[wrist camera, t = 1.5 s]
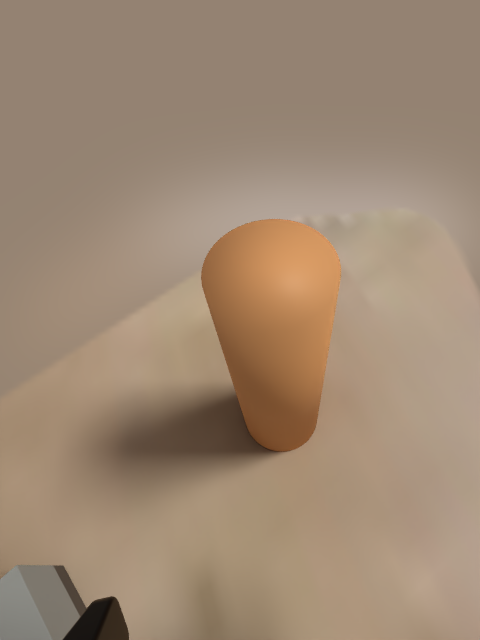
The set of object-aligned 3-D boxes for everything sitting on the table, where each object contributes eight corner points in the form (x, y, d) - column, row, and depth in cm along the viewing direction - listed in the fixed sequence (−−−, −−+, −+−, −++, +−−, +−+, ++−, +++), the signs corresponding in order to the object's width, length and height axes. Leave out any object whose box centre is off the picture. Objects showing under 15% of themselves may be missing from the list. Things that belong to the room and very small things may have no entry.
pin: (332, 415, 22) (371, 267, 11) (280, 467, 21) (268, 358, 10) (280, 368, 24) (271, 200, 13) (230, 414, 23) (174, 272, 12)
